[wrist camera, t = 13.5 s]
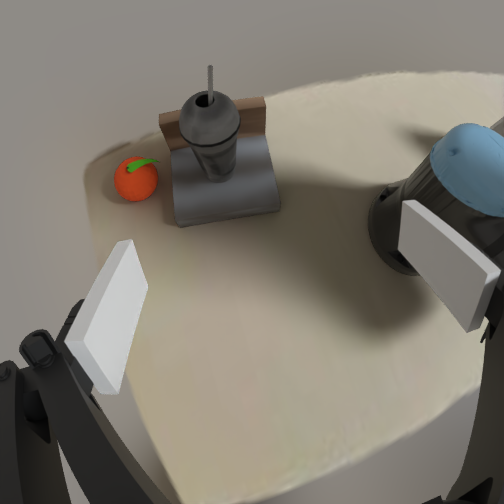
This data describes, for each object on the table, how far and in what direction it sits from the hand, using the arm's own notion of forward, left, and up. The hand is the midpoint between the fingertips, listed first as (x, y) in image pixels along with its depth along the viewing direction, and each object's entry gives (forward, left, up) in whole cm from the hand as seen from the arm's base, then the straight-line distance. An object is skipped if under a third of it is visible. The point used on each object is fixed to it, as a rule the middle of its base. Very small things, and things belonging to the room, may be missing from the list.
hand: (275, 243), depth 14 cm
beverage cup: (+3, -20, -27) cm, 33 cm away
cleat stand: (+3, -19, -30) cm, 35 cm away
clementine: (+16, -21, -30) cm, 40 cm away
